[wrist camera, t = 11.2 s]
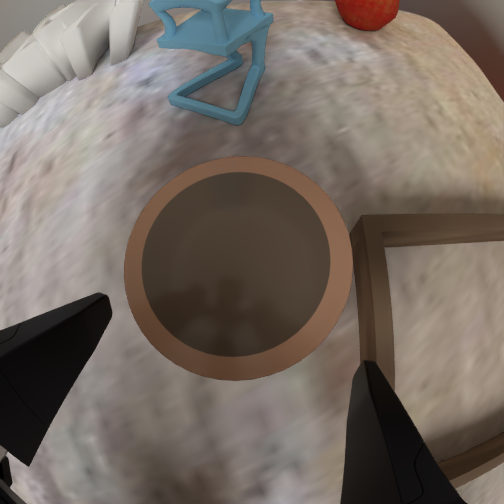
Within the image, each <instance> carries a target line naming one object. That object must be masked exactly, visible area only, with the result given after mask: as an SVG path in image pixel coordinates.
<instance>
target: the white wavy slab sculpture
mask: <svg viewBox="0 0 504 504" xmlns="http://www.w3.org/2000/svg"><path fill="white" fill-rule="evenodd" d="M142 4H143V0H76V1H74V2H72V3H70V4H69V5H67V6H66V5H61V6H59V7H57V8H56V9H54V10H53V11H51V12H50V13H49V14H48V15H47V16H46V17H45V18H44V19H43V20H42V21H41V22H40V23H39V25H38V26H37V27H36V28H35V30H34V32H32V34H31V35H29V33H28V32H27V31H26V30H25V31H22V32H20V33H19V34H18V35H17V36H15V37H14V38H13V39H12V40H11V41H10V42H9V43H8V45H7V46H6V47H5V48H4V49H3V51H2V52H1V53H0V127H2V128H4V127H6V126H7V125H9V124H10V123H11V122H12V121H13V120H14V119H15V118H16V117H17V116H18V114H19V113H20V114H22V115H23V114H24V113H26V112H27V111H28V110H30V109H31V108H32V107H33V106H34V105H35V104H36V103H37V101H38V99H39V98H40V97H42V96H43V95H45V94H47V93H49V92H51V91H52V90H54V89H56V88H57V87H59V86H61V85H62V84H64V83H65V82H66V80H67V81H71V80H73V79H74V78H75V77H76V76H77V78H78V80H82V79H84V78H86V77H88V76H90V75H92V74H93V71H94V68H95V66H96V64H97V62H98V60H99V59H100V57H101V56H102V54H103V53H104V52H105V51H106V49H107V48H108V47H109V46H110V63H111V66H112V65H115V64H118V63H120V62H122V61H125V60H127V58H128V57H129V55H130V53H131V51H132V49H133V46H134V41H135V36H136V31H137V26H138V20H139V17H140V13H141V8H142Z"/></svg>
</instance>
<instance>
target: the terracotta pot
mask: <svg viewBox="0 0 504 504" xmlns="http://www.w3.org/2000/svg"><path fill="white" fill-rule="evenodd" d="M352 272H353V257H352V247H351V242H350V238H349V234H348V231H347V228H346V226H345V223H344V220H343V218H342V216H341V215H340V213H339V211H338V209H337V207H336V206H335V204H334V203H333V202H332V200H331V199H330V198H329V196H328V195H327V194H326V193H325V192H324V191H323V190H322V189H321V188H320V187H319V186H318V185H317V184H316V183H315V182H314V181H312V180H311V179H310V178H309V177H307V176H306V175H304V174H302V173H301V172H299V171H297V170H296V169H294V168H292V167H289V166H287V165H285V164H283V163H279V162H276V161H273V160H269V159H264V158H259V157H247V156H238V157H226V158H220V159H215V160H212V161H208V162H205V163H202V164H199V165H197V166H195V167H192V168H190V169H188V170H186V171H185V172H183V173H181V174H179V175H178V176H176V177H175V178H174V179H172V180H171V181H169V182H168V183H167V184H166V185H165V186H163V187H162V188H161V189H160V190H159V191H158V192H157V193H156V194H155V195H154V196H153V198H152V199H151V200H150V201H149V202H148V204H147V205H146V206H145V208H144V209H143V211H142V212H141V214H140V216H139V218H138V219H137V221H136V223H135V225H134V228H133V230H132V233H131V235H130V238H129V242H128V245H127V249H126V255H125V263H124V281H125V289H126V295H127V299H128V302H129V306H130V309H131V311H132V314H133V316H134V319H135V321H136V322H137V324H138V326H139V328H140V329H141V331H142V333H143V334H144V335H145V336H146V338H147V339H148V340H149V342H150V343H151V344H152V345H153V346H154V347H155V348H156V349H157V350H158V351H159V352H160V353H161V354H162V355H164V356H165V357H166V358H168V359H169V360H170V361H172V362H173V363H174V364H176V365H178V366H180V367H182V368H184V369H186V370H188V371H190V372H193V373H195V374H198V375H201V376H204V377H209V378H214V379H219V380H232V381H239V380H251V379H256V378H261V377H265V376H269V375H272V374H275V373H277V372H280V371H282V370H285V369H287V368H289V367H290V366H292V365H294V364H296V363H297V362H299V361H301V360H302V359H303V358H305V357H306V356H307V355H309V354H310V353H311V352H312V351H314V350H315V349H316V348H317V347H318V346H319V345H320V344H321V343H322V342H323V341H324V340H325V338H326V337H327V336H328V334H329V333H330V332H331V330H332V329H333V328H334V326H335V325H336V323H337V321H338V319H339V317H340V315H341V314H342V312H343V310H344V307H345V304H346V301H347V299H348V296H349V292H350V287H351V282H352Z"/></svg>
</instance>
